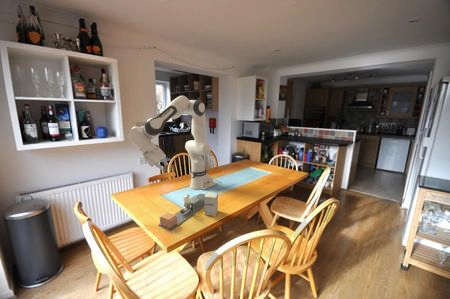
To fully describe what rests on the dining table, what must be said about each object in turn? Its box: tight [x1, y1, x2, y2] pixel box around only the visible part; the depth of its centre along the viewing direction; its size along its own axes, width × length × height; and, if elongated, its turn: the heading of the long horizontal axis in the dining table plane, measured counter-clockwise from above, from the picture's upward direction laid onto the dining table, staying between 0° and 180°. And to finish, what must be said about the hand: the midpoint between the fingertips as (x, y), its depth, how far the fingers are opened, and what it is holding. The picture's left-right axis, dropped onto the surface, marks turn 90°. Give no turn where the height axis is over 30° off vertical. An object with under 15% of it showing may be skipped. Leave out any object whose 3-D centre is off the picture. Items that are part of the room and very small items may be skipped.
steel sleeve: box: [189, 193, 206, 211], centre depth 133 cm, size 14×5×5 cm, turn 150°
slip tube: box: [179, 194, 193, 214], centre depth 129 cm, size 21×4×10 cm, turn 150°
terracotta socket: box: [159, 212, 178, 228], centre depth 112 cm, size 6×8×5 cm
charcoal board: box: [158, 203, 205, 232], centre depth 125 cm, size 37×10×1 cm, turn 150°
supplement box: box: [204, 191, 219, 217], centre depth 125 cm, size 7×7×13 cm
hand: (164, 167), depth 121 cm, fingers open, 8 cm apart
